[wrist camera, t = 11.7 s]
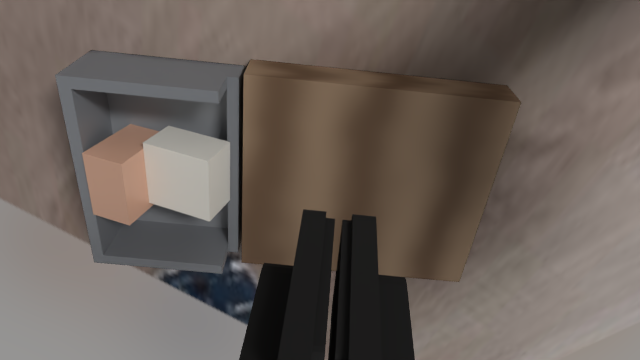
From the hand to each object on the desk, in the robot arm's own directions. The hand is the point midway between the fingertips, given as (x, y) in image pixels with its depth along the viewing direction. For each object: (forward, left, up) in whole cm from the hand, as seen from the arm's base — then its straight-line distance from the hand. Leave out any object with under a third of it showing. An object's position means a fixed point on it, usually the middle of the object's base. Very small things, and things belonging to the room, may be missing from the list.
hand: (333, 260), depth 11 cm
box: (+11, +11, -24) cm, 29 cm away
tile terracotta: (+12, +12, -20) cm, 26 cm away
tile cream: (+9, +11, -22) cm, 26 cm away
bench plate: (-4, +11, -24) cm, 26 cm away
